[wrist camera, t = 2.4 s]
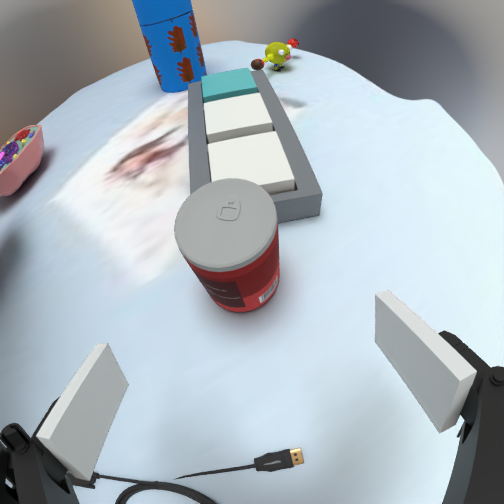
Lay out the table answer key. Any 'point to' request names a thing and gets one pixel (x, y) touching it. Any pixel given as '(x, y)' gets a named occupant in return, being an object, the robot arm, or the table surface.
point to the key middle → (236, 117)
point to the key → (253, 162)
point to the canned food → (231, 242)
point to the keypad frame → (306, 186)
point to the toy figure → (275, 54)
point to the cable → (261, 463)
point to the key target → (228, 85)
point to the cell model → (20, 158)
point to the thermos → (171, 42)
